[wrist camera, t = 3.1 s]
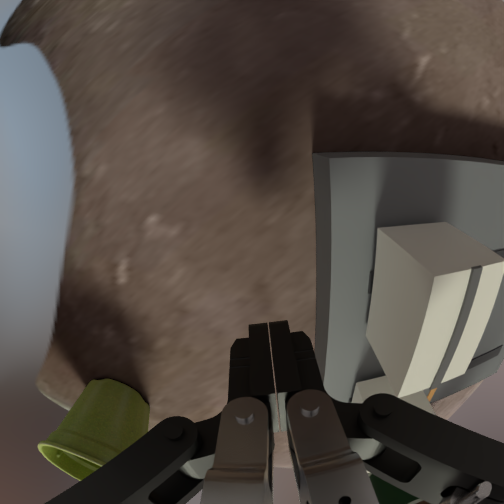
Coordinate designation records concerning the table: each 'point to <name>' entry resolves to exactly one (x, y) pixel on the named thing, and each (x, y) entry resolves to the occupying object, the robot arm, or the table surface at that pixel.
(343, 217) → the fader board
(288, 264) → the table surface
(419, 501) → the beer bottle
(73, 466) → the plant pot
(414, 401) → the block
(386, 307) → the block
